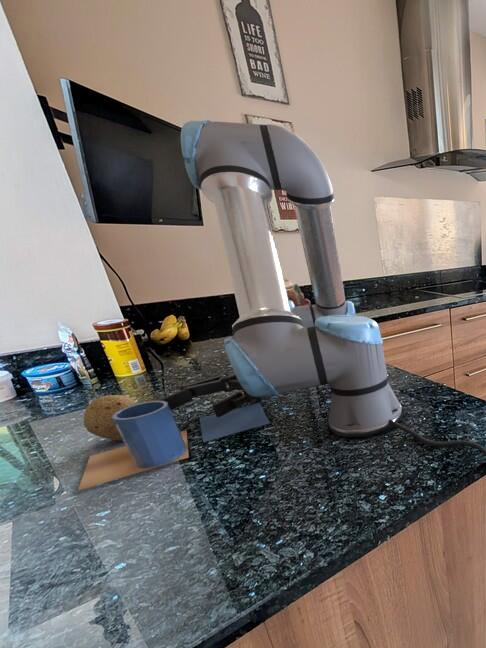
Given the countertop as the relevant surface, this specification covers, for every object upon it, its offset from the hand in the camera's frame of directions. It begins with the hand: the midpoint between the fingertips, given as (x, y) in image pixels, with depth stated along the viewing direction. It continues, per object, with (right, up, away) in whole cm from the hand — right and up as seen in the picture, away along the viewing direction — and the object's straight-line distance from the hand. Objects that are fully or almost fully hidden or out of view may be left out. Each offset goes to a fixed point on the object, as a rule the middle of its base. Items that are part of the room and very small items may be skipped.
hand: (187, 409), depth 80 cm
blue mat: (+4, -3, +8) cm, 10 cm away
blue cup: (-1, -9, -5) cm, 10 cm away
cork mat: (-6, -9, -4) cm, 12 cm away
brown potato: (-16, -7, +3) cm, 17 cm away
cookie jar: (-17, +20, +64) cm, 69 cm away
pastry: (-31, -1, +16) cm, 35 cm away
